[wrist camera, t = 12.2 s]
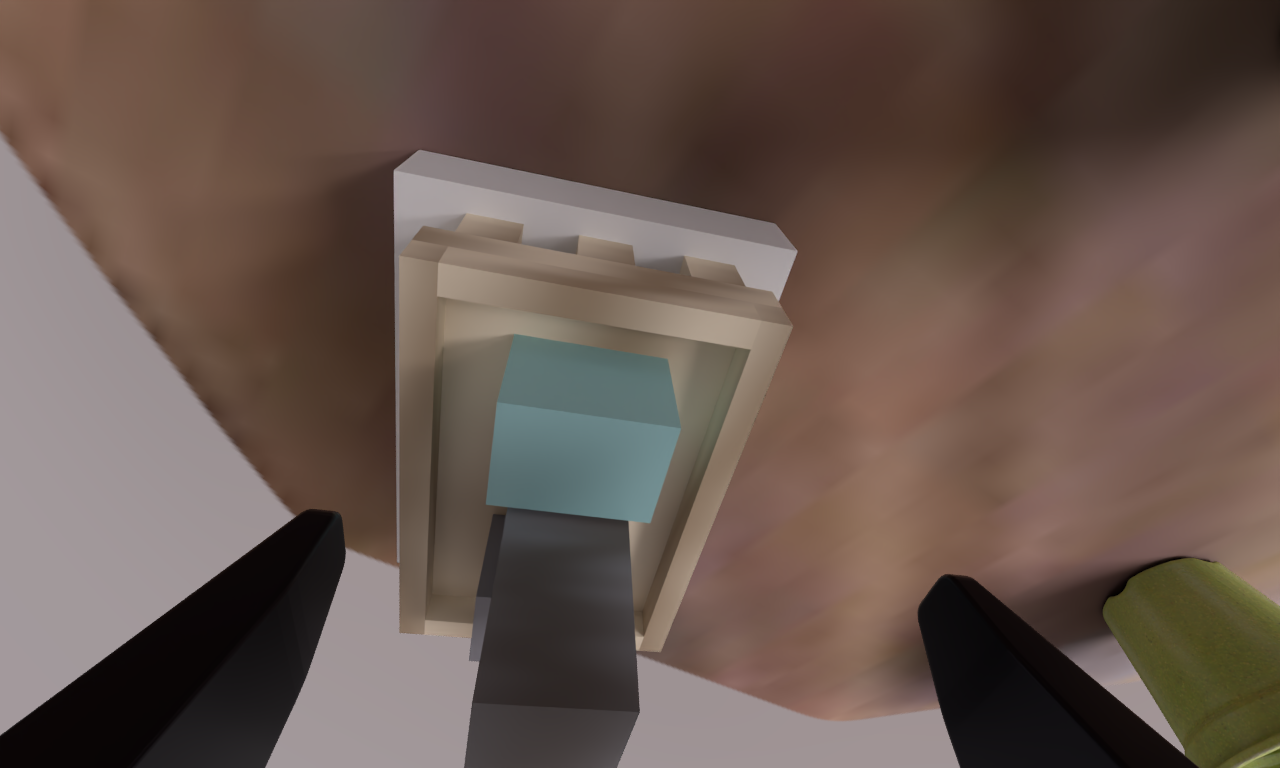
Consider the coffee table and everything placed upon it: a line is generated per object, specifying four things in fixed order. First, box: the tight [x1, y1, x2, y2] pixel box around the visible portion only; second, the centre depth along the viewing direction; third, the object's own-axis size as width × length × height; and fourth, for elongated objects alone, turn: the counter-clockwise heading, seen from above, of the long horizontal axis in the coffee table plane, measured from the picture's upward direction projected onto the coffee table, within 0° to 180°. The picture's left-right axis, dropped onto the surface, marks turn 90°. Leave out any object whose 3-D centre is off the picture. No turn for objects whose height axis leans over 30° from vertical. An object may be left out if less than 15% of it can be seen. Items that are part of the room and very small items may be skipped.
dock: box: [394, 150, 798, 563], centre depth 21 cm, size 11×15×2 cm
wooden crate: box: [399, 213, 793, 768], centre depth 15 cm, size 9×13×10 cm
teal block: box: [486, 334, 681, 523], centre depth 14 cm, size 4×3×3 cm
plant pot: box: [1103, 558, 1280, 768], centre depth 27 cm, size 9×9×9 cm
